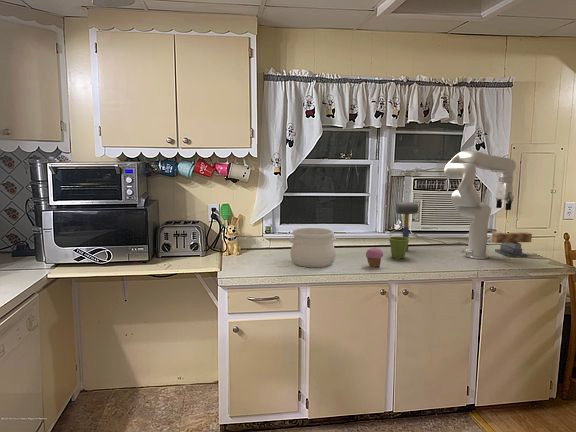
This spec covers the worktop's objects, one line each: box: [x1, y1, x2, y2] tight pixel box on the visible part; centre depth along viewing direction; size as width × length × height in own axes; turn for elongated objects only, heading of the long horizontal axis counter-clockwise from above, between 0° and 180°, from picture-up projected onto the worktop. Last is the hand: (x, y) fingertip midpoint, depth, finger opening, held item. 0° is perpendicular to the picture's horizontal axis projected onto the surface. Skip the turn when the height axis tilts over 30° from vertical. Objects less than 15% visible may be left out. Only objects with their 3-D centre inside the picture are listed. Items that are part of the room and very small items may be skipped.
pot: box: [289, 227, 337, 268], centre depth 228 cm, size 26×24×18 cm
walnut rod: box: [491, 231, 533, 244], centre depth 250 cm, size 22×4×5 cm, turn 97°
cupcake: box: [365, 247, 384, 268], centre depth 222 cm, size 9×9×10 cm
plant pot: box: [388, 236, 411, 260], centre depth 241 cm, size 12×12×11 cm
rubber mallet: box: [395, 201, 419, 251], centre depth 258 cm, size 12×8×30 cm, turn 94°
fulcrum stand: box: [494, 242, 528, 258], centre depth 251 cm, size 11×14×8 cm
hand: (503, 208), depth 254 cm, fingers open, 9 cm apart
